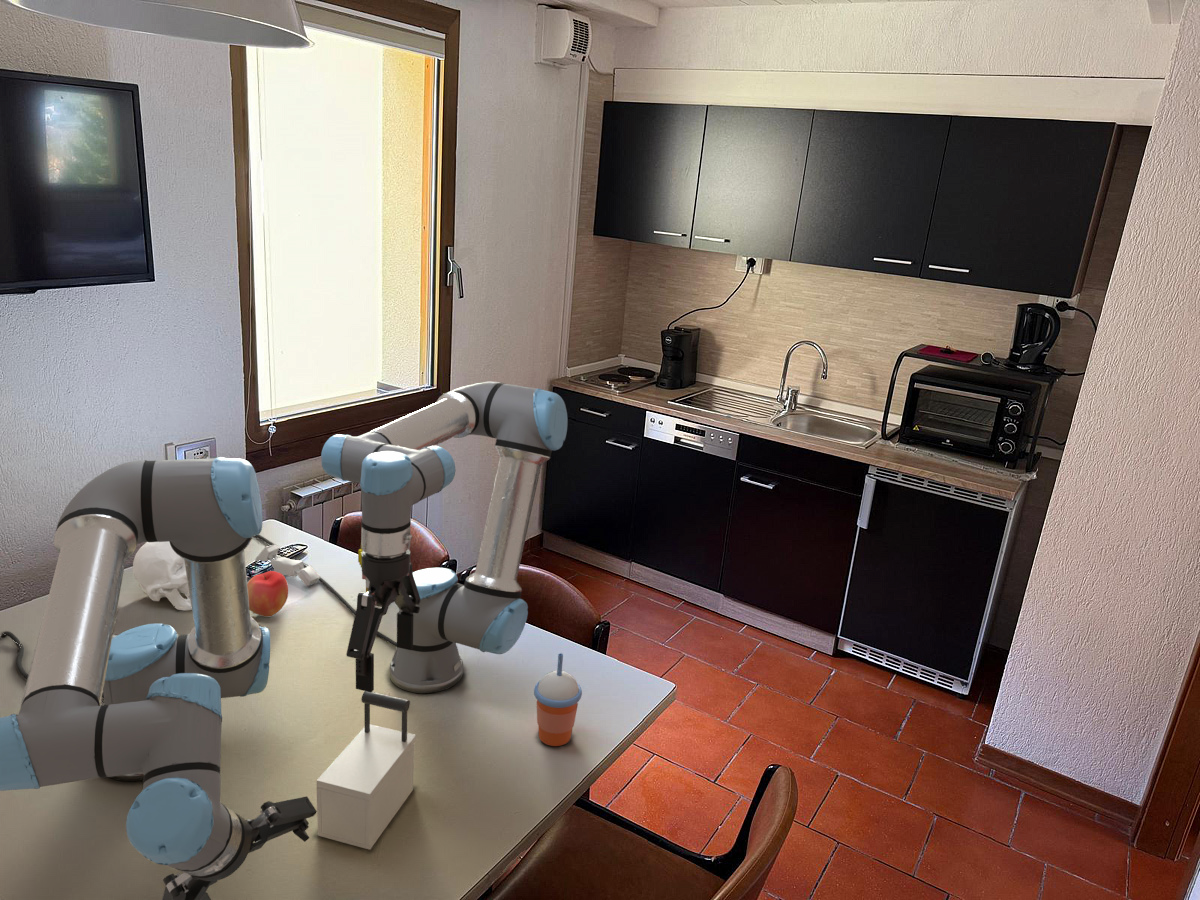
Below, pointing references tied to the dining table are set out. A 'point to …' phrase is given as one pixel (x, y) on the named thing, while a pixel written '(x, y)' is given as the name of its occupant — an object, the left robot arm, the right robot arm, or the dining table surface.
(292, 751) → the dining table surface
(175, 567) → the skull
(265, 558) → the clamp
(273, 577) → the apple
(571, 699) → the cup with straw
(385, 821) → the chest
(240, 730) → the dining table surface
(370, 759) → the lid
